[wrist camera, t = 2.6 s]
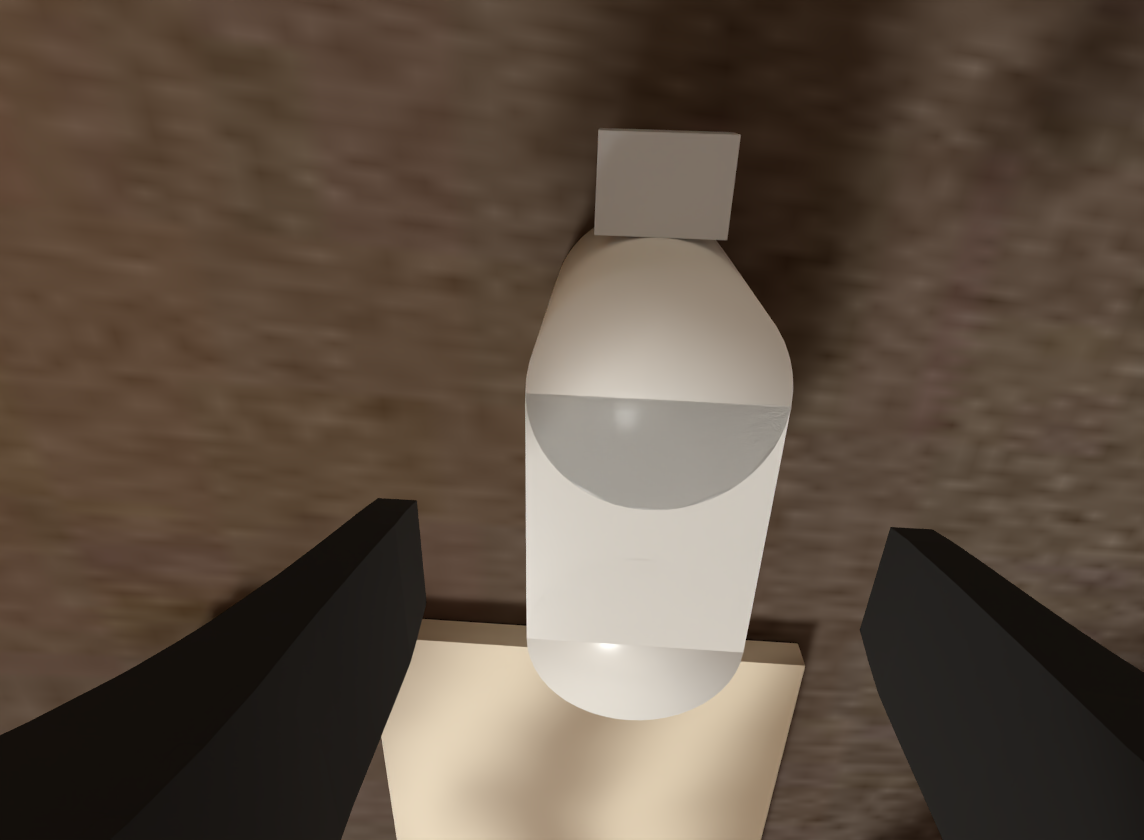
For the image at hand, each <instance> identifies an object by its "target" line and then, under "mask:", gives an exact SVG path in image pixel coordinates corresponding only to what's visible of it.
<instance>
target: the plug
mask: <svg viewBox="0 0 1144 840" xmlns="http://www.w3.org/2000/svg"><path fill="white" fill-rule="evenodd" d="M740 138H741V135H740V134H737V133H734V132H711V131H680V130H648V129H617V128H599V130H598V153H597V177H596V202H595V226H594V228H592V229H591V230H590V231H588V232H587V233H586V234H585V235H584V236H582V238H581V239H580V240H579V241H578V242H577V243H576V244H575V245H574V246H573V248H572V249H571V251H570V252H569V253H568V255H567V256H566V258H565V260H564V262H563V264H562V266H561V268H560V271H559V274H558V277H557V280H556V283H555V286H554V289H553V292H552V295H551V298H550V301H549V304H548V307H547V310H546V313H545V316H544V319H543V322H542V325H541V329H540V332H539V335H538V338H537V341H536V344H535V347H534V350H533V353H532V356H531V359H530V362H529V367H528V372H527V377H526V390H525V428H526V610H527V647H528V652H529V656H530V659H531V661H532V664H533V666H534V668H535V670H536V671H537V673H538V674H539V676H540V678H541V679H542V680H543V681H544V682H545V683H546V685H547V686H548V687H549V688H550V689H551V690H553V691H554V692H555V693H556V694H557V695H559V696H560V697H561V698H563V699H564V700H566V701H567V702H569V703H571V704H573V705H575V706H576V707H578V708H581V709H583V710H585V711H588V712H591V713H594V714H597V715H600V716H605V717H609V718H614V719H622V720H654V719H660V718H666V717H670V716H674V715H678V714H681V713H684V712H687V711H689V710H692V709H694V708H696V707H698V706H700V705H702V704H704V703H705V702H707V701H708V700H710V699H711V698H713V697H714V696H715V695H717V694H718V693H719V692H720V691H721V690H722V689H723V688H724V687H725V686H726V685H727V684H728V683H729V682H730V680H731V679H732V677H733V676H734V674H735V673H736V671H737V669H738V667H739V665H740V663H741V659H742V656H743V652H744V647H745V642H746V636H747V631H748V626H749V621H750V616H751V611H752V606H753V600H754V595H755V590H756V585H757V580H758V575H759V570H760V564H761V559H762V554H763V549H764V544H765V539H766V534H767V529H768V523H769V518H770V513H771V508H772V503H773V498H774V493H775V487H776V482H777V477H778V472H779V467H780V462H781V457H782V451H783V446H784V441H785V436H786V431H787V426H788V421H789V415H790V410H791V405H792V396H793V372H792V367H791V361H790V357H789V354H788V351H787V348H786V345H785V342H784V340H783V338H782V336H781V334H780V332H779V330H778V328H777V327H776V325H775V324H774V322H773V321H772V319H771V318H770V316H769V315H768V314H767V312H766V311H765V309H764V308H763V306H762V305H761V303H760V302H759V301H758V299H757V298H756V296H755V295H754V293H753V292H752V290H751V289H750V288H749V286H748V285H747V283H746V282H745V280H744V279H743V277H742V276H741V275H740V273H739V272H738V270H737V269H736V267H735V266H734V264H733V263H732V262H731V260H730V259H729V257H728V256H727V254H726V253H725V251H724V250H723V249H722V247H721V246H720V245H719V243H718V242H717V241H716V240H727V238H728V230H729V222H730V214H731V207H732V199H733V191H734V184H735V176H736V168H737V161H738V153H739V145H740Z"/></svg>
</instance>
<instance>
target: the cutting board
mask: <svg viewBox="0 0 1144 840" xmlns="http://www.w3.org/2000/svg"><path fill="white" fill-rule="evenodd" d="M804 668H805V664H804V661H803V658H802V655H801V652H800V649H799V646H798V644H797V643H782V642H767V641H751V640H746V642H745V647H744V652H743V656H742V659H741V663H740V665H739V667H738V669H737V671H736V673H735V674H734V676H733V677H732V679H731V680H730V682H729V683H728V684H727V685H726V686H725V687H724V688H723V689H722V690H721V691H720V692H719V693H718V694H717V695H715V696H714V697H713V698H711V699H710V700H708V701H707V702H705V703H704V704H702V705H700V706H698V707H696V708H694V709H692V710H689V711H687V712H684V713H681V714H678V715H674V716H670V717H666V718H660V719H654V720H622V719H614V718H609V717H605V716H600V715H597V714H594V713H591V712H588V711H585V710H583V709H581V708H578V707H576V706H575V705H573V704H571V703H569V702H567V701H566V700H564V699H563V698H561V697H560V696H559V695H557V694H556V693H555V692H554V691H553V690H551V689H550V688H549V687H548V686H547V685H546V683H545V682H544V681H543V680H542V679H541V678H540V676H539V674H538V673H537V671H536V670H535V668H534V666H533V664H532V661H531V659H530V656H529V652H528V647H527V626H522V625H507V624H492V623H477V622H461V621H446V620H431V619H422V622H421V626H420V630H419V634H418V638H417V641H416V645H415V649H414V652H413V656H412V659H411V663H410V665H409V668H408V670H407V673H406V676H405V678H404V681H403V683H402V686H401V688H400V691H399V693H398V696H397V698H396V701H395V703H394V706H393V708H392V711H391V713H390V716H389V718H388V721H387V723H386V726H385V728H384V731H383V733H382V735H381V737H382V744H383V751H384V757H385V764H386V770H387V777H388V784H389V790H390V797H391V803H392V810H393V817H394V823H395V830H396V836H397V840H761V837H762V833H763V829H764V825H765V821H766V818H767V814H768V810H769V806H770V802H771V798H772V794H773V790H774V786H775V782H776V778H777V774H778V770H779V767H780V763H781V759H782V755H783V751H784V747H785V743H786V739H787V735H788V731H789V727H790V723H791V719H792V716H793V712H794V708H795V704H796V700H797V696H798V692H799V688H800V684H801V680H802V676H803V672H804Z"/></svg>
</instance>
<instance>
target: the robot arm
mask: <svg viewBox="0 0 1144 840" xmlns="http://www.w3.org/2000/svg"><path fill="white" fill-rule="evenodd" d="M425 606H426V593H425V582H424V572H423V561H422V551H421V540H420V530H419V519H418V509H417V500H400V499H382V498H378V499H376V500H375V501H374V502H372V503H371V504H369V505H368V506H367V507H365V508H364V509H363V510H361V511H360V512H359V513H358V514H356V515H355V516H354V517H352V518H351V519H350V520H349V521H347V522H346V523H345V524H343V525H342V526H341V527H340V528H338V529H337V530H336V531H335V532H333V533H332V534H331V535H329V536H328V537H327V538H326V539H324V540H323V541H322V542H320V543H319V544H318V545H316V546H315V547H314V548H313V549H311V550H310V551H309V552H307V553H306V554H305V555H303V556H302V557H301V558H299V559H298V560H297V561H295V562H294V563H293V564H291V565H290V566H289V567H287V568H286V569H285V570H284V571H282V572H281V573H279V574H278V575H277V576H275V577H274V578H272V579H271V580H270V581H268V582H267V583H265V584H264V585H262V586H261V587H259V588H258V589H257V590H255V591H254V592H252V593H251V594H249V595H248V596H246V597H245V598H244V599H242V600H241V601H239V602H238V603H236V604H235V605H233V606H232V607H231V608H229V609H228V610H226V611H225V612H223V613H222V614H220V615H219V616H218V617H216V618H214V619H213V620H211V621H210V622H208V623H207V624H205V625H204V626H202V627H201V628H199V629H197V630H196V631H194V632H192V633H191V634H189V635H188V636H186V637H184V638H183V639H181V640H180V641H178V642H176V643H175V644H173V645H171V646H169V647H168V648H166V649H164V650H163V651H161V652H159V653H157V654H156V655H154V656H152V657H151V658H149V659H147V660H145V661H144V662H142V663H140V664H139V665H137V666H135V667H133V668H132V669H130V670H128V671H126V672H124V673H123V674H121V675H119V676H117V677H115V678H113V679H111V680H109V681H107V682H105V683H104V684H102V685H100V686H98V687H96V688H94V689H92V690H90V691H88V692H86V693H84V694H82V695H80V696H78V697H76V698H74V699H72V700H70V701H68V702H67V703H65V704H63V705H61V706H59V707H57V708H55V709H53V710H51V711H49V712H47V713H45V714H43V715H41V716H39V717H37V718H35V719H33V720H31V721H30V722H27V723H25V724H23V725H21V726H19V727H17V728H15V729H13V730H11V731H8V732H6V733H4V734H2V735H0V840H341V838H342V835H343V832H344V830H345V827H346V824H347V821H348V818H349V816H350V813H351V810H352V807H353V805H354V802H355V800H356V797H357V795H358V792H359V790H360V787H361V785H362V782H363V780H364V777H365V775H366V772H367V770H368V767H369V765H370V763H371V760H372V758H373V755H374V753H375V750H376V748H377V745H378V743H379V740H380V738H381V735H382V733H383V731H384V728H385V726H386V723H387V721H388V718H389V716H390V713H391V711H392V708H393V706H394V703H395V701H396V698H397V696H398V693H399V691H400V688H401V686H402V683H403V681H404V678H405V676H406V673H407V670H408V668H409V665H410V663H411V659H412V656H413V652H414V649H415V645H416V641H417V638H418V634H419V630H420V626H421V622H422V618H423V614H424V610H425ZM860 632H861V636H862V639H863V643H864V647H865V650H866V654H867V658H868V661H869V665H870V668H871V671H872V674H873V678H874V681H875V684H876V687H877V691H878V694H879V696H880V698H881V701H882V703H883V706H884V708H885V710H886V713H887V715H888V717H889V719H890V722H891V724H892V726H893V729H894V731H895V733H896V736H897V738H898V740H899V742H900V745H901V747H902V749H903V751H904V754H905V756H906V758H907V760H908V763H909V765H910V767H911V769H912V772H913V774H914V776H915V778H916V781H917V783H918V785H919V787H920V790H921V792H922V794H923V796H924V798H925V801H926V803H927V805H928V807H929V810H930V812H931V814H932V816H933V819H934V821H935V823H936V825H937V828H938V830H939V832H940V834H941V837H942V839H943V840H1144V672H1142V671H1140V670H1139V669H1137V668H1136V667H1134V666H1133V665H1131V664H1129V663H1128V662H1126V661H1125V660H1123V659H1122V658H1120V657H1119V656H1117V655H1115V654H1114V653H1112V652H1111V651H1109V650H1108V649H1106V648H1105V647H1103V646H1102V645H1100V644H1099V643H1097V642H1096V641H1094V640H1093V639H1091V638H1090V637H1088V636H1087V635H1085V634H1084V633H1082V632H1081V631H1079V630H1078V629H1076V628H1075V627H1074V626H1072V625H1071V624H1069V623H1068V622H1066V621H1065V620H1063V619H1062V618H1060V617H1059V616H1058V615H1056V614H1055V613H1053V612H1052V611H1050V610H1049V609H1048V608H1046V607H1045V606H1043V605H1042V604H1040V603H1039V602H1038V601H1036V600H1035V599H1033V598H1032V597H1030V596H1029V595H1028V594H1026V593H1025V592H1023V591H1022V590H1021V589H1019V588H1018V587H1016V586H1015V585H1013V584H1012V583H1011V582H1009V581H1008V580H1006V579H1005V578H1004V577H1002V576H1001V575H999V574H998V573H997V572H995V571H994V570H992V569H991V568H990V567H988V566H987V565H985V564H984V563H982V562H981V561H980V560H978V559H977V558H975V557H974V556H972V555H971V554H969V553H968V552H967V551H965V550H964V549H962V548H961V547H959V546H958V545H956V544H955V543H953V542H952V541H950V540H949V539H947V538H946V537H944V536H942V535H941V534H939V533H937V532H936V531H934V530H931V529H914V528H896V527H891V528H890V531H889V534H888V538H887V541H886V544H885V548H884V551H883V554H882V558H881V561H880V564H879V568H878V571H877V574H876V578H875V581H874V584H873V588H872V591H871V594H870V598H869V601H868V605H867V608H866V611H865V615H864V618H863V621H862V625H861V628H860Z"/></svg>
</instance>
